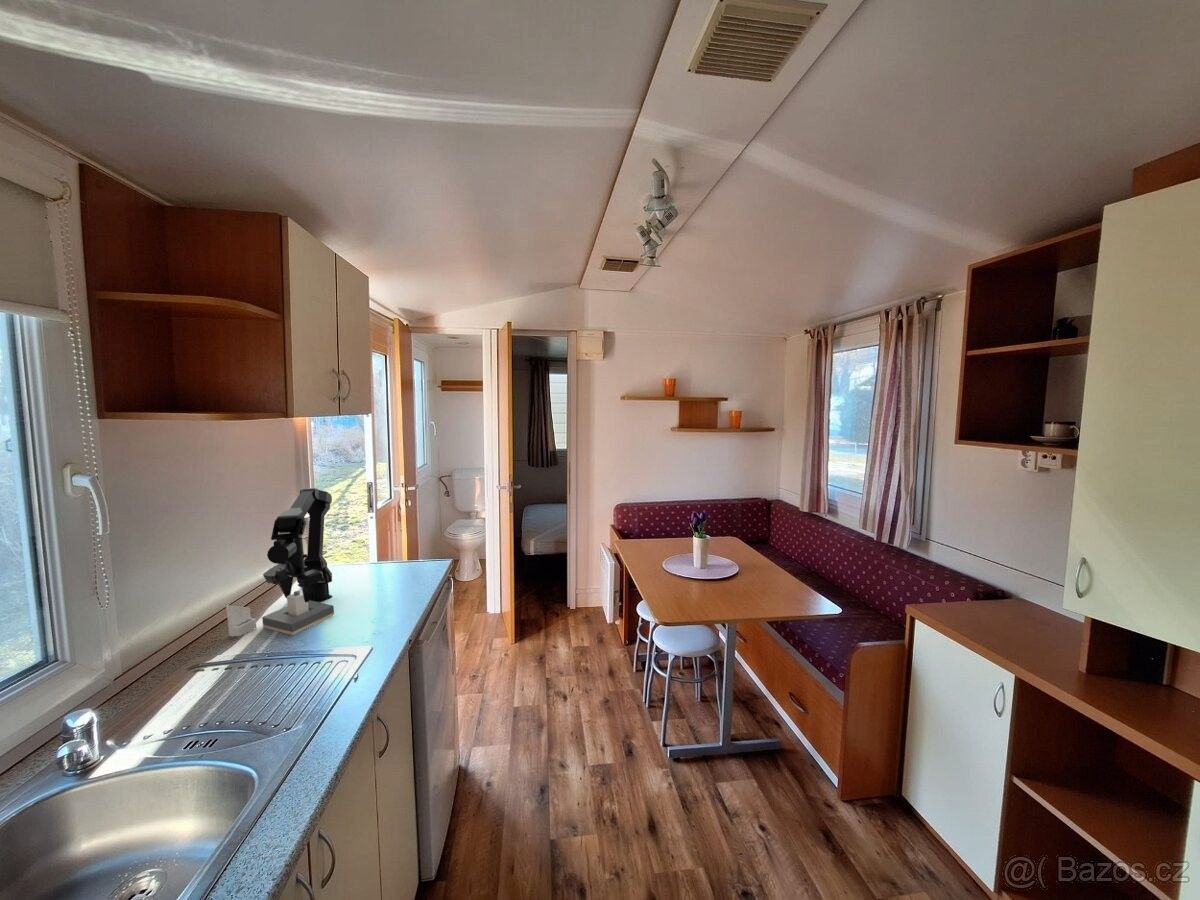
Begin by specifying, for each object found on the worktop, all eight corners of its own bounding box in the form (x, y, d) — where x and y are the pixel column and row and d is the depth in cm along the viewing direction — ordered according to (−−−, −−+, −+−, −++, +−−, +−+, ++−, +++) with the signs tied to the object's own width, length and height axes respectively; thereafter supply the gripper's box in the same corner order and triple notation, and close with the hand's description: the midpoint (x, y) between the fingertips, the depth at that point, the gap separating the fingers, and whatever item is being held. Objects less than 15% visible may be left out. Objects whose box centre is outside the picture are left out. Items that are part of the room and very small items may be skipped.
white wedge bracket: (214, 635, 139) (226, 604, 142) (243, 636, 148) (253, 608, 151) (224, 636, 138) (235, 605, 142) (253, 637, 147) (263, 608, 151)
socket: (305, 608, 161) (304, 599, 161) (334, 615, 156) (333, 605, 156) (263, 627, 149) (262, 617, 148) (292, 635, 143) (291, 624, 143)
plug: (301, 614, 155) (298, 588, 154) (309, 616, 153) (306, 590, 152) (289, 620, 151) (286, 593, 150) (297, 622, 150) (294, 595, 149)
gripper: (247, 557, 146) (252, 605, 147) (287, 564, 139) (292, 615, 140) (283, 547, 156) (287, 592, 158) (322, 553, 149) (326, 600, 151)
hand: (297, 599), depth 151 cm, fingers open, 9 cm apart
